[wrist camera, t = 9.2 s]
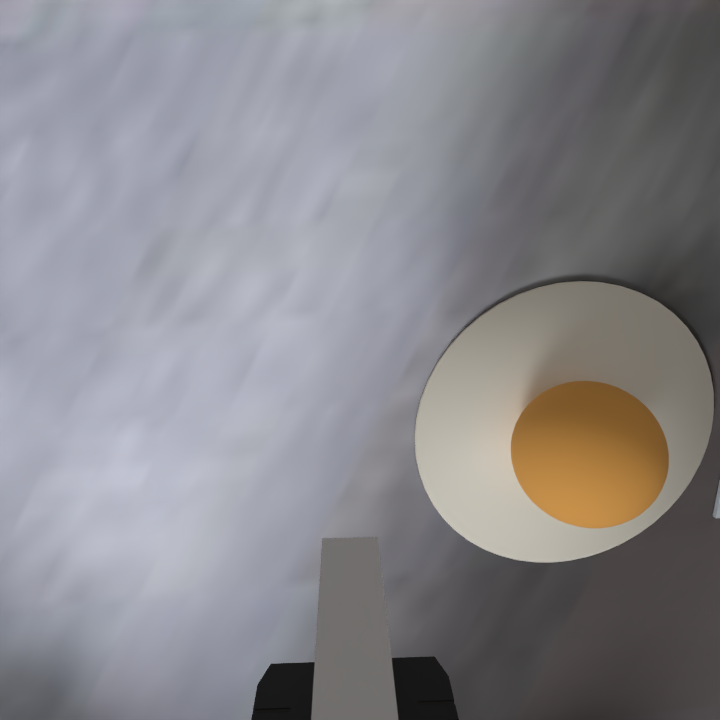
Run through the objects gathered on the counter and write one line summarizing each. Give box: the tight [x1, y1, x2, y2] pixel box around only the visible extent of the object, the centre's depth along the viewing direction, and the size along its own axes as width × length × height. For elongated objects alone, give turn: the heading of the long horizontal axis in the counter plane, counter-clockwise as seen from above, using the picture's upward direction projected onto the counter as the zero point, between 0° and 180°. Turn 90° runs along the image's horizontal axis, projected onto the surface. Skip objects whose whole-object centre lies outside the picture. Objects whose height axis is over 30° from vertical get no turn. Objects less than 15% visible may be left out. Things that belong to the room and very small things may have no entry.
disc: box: [414, 281, 714, 562], centre depth 23 cm, size 13×13×1 cm
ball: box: [511, 381, 669, 528], centre depth 20 cm, size 6×6×6 cm
